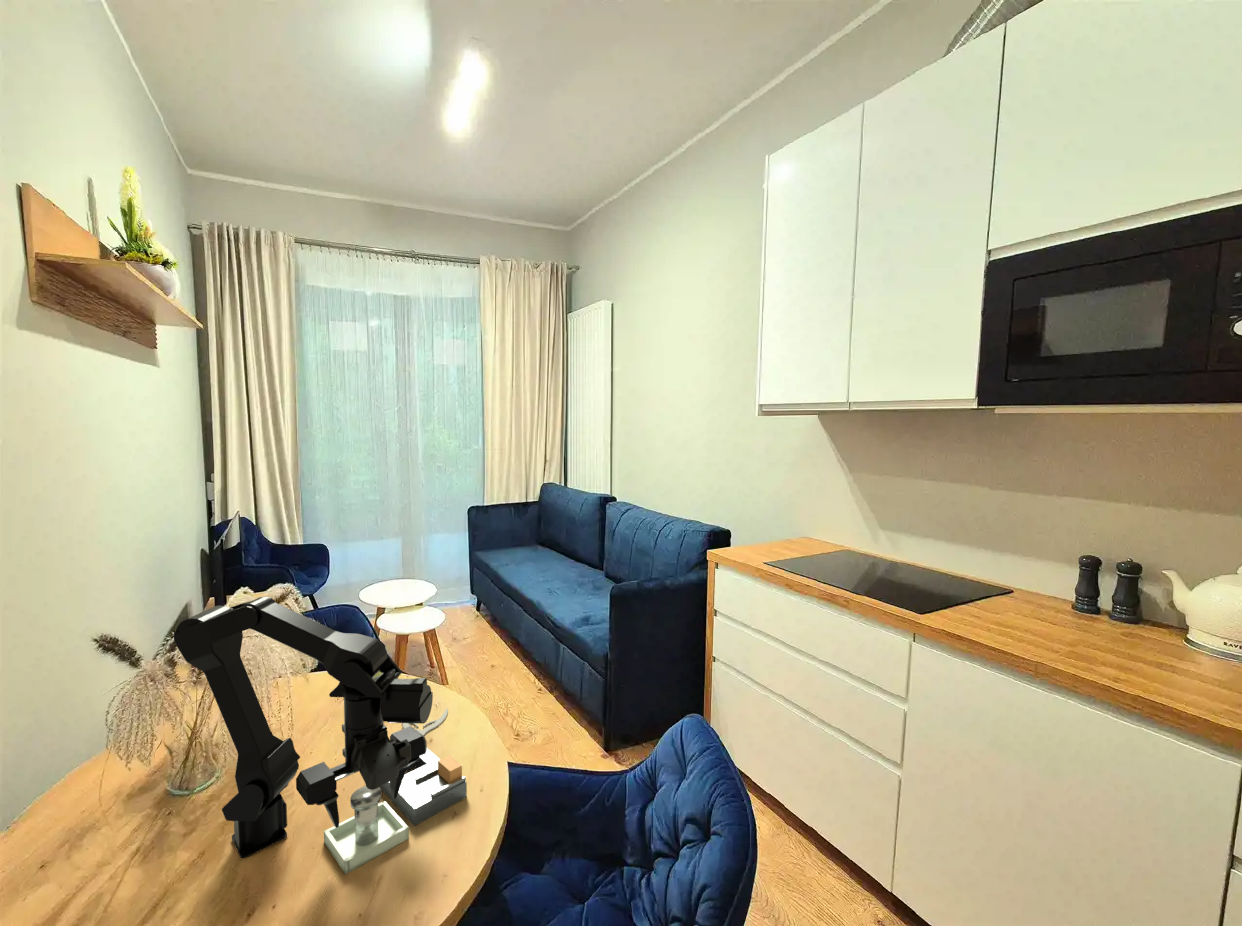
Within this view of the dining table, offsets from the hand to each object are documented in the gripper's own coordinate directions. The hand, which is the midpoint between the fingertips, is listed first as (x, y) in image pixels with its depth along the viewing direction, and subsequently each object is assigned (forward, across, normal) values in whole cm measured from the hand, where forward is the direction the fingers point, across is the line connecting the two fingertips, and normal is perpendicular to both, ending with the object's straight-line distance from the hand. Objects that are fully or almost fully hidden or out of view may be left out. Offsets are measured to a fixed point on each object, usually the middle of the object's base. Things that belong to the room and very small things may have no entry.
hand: (366, 811), depth 90 cm
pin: (+5, 0, 0) cm, 5 cm away
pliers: (+6, +22, +25) cm, 33 cm away
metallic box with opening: (+5, +12, +6) cm, 14 cm away
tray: (+5, 0, 0) cm, 5 cm away
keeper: (+2, +16, +1) cm, 16 cm away
